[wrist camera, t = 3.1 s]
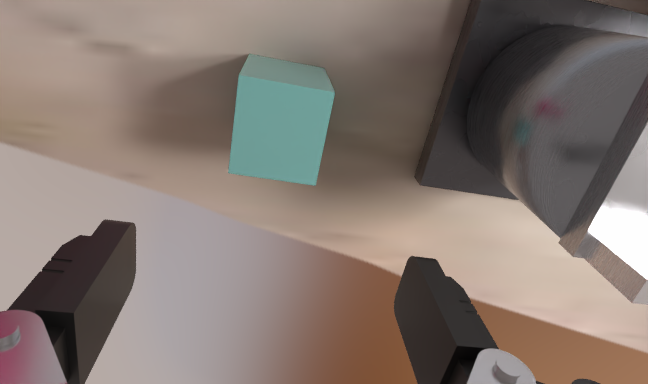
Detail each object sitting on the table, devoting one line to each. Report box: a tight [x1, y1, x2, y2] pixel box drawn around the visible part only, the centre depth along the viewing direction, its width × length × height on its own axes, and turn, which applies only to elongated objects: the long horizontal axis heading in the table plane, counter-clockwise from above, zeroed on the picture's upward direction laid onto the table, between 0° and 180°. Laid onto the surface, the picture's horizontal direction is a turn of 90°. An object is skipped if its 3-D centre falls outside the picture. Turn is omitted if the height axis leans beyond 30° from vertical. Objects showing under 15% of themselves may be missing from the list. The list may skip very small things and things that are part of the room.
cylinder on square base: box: [415, 0, 648, 305], centre depth 23 cm, size 14×14×16 cm
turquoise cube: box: [228, 54, 335, 186], centre depth 26 cm, size 6×5×7 cm
